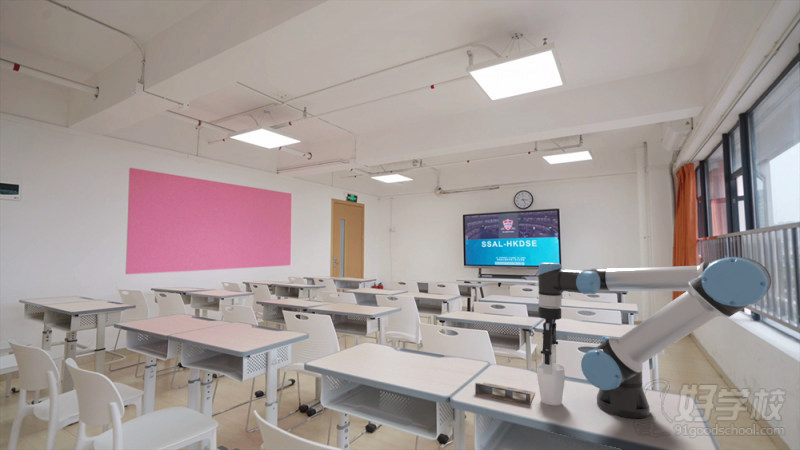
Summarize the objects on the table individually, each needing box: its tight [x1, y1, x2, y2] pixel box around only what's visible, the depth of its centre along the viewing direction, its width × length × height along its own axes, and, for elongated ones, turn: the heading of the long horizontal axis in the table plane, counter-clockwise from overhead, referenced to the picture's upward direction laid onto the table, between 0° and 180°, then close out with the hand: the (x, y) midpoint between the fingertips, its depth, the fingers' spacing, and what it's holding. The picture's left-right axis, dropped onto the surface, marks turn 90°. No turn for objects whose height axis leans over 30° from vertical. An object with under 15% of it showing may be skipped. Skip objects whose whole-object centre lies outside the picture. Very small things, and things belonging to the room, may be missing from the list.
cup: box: [536, 362, 566, 407], centre depth 127 cm, size 9×9×12 cm
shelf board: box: [474, 382, 536, 406], centre depth 133 cm, size 19×11×4 cm, turn 62°
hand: (549, 368), depth 128 cm, fingers open, 13 cm apart
